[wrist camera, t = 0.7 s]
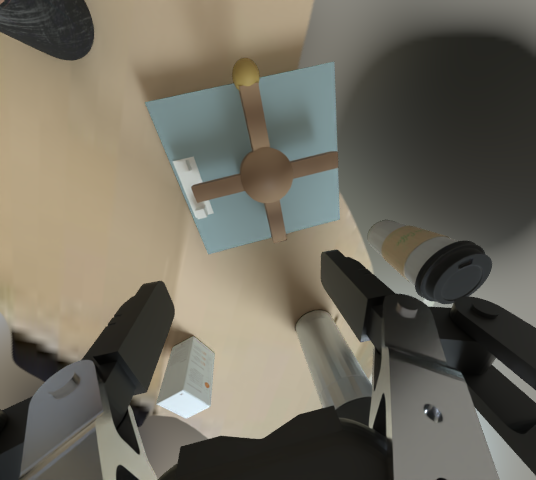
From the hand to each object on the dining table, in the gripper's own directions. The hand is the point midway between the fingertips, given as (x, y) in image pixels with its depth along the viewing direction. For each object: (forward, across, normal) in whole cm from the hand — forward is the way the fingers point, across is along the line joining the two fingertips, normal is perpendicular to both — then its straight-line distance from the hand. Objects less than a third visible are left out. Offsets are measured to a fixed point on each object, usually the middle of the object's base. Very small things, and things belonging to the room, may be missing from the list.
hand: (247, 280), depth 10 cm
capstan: (+19, -4, -4) cm, 20 cm away
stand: (+22, -4, -3) cm, 23 cm away
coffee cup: (+22, -26, +12) cm, 37 cm away
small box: (+23, +16, +33) cm, 43 cm away
